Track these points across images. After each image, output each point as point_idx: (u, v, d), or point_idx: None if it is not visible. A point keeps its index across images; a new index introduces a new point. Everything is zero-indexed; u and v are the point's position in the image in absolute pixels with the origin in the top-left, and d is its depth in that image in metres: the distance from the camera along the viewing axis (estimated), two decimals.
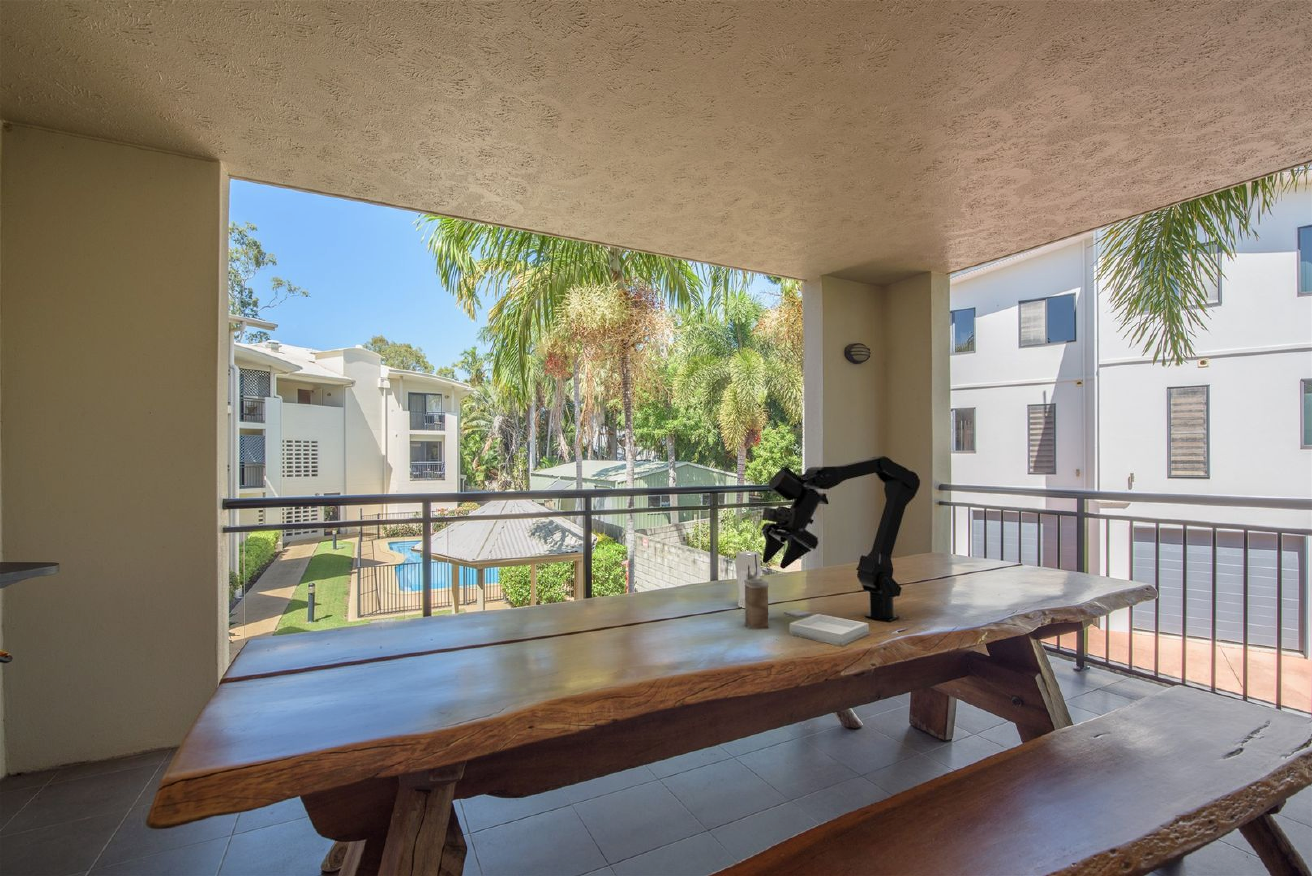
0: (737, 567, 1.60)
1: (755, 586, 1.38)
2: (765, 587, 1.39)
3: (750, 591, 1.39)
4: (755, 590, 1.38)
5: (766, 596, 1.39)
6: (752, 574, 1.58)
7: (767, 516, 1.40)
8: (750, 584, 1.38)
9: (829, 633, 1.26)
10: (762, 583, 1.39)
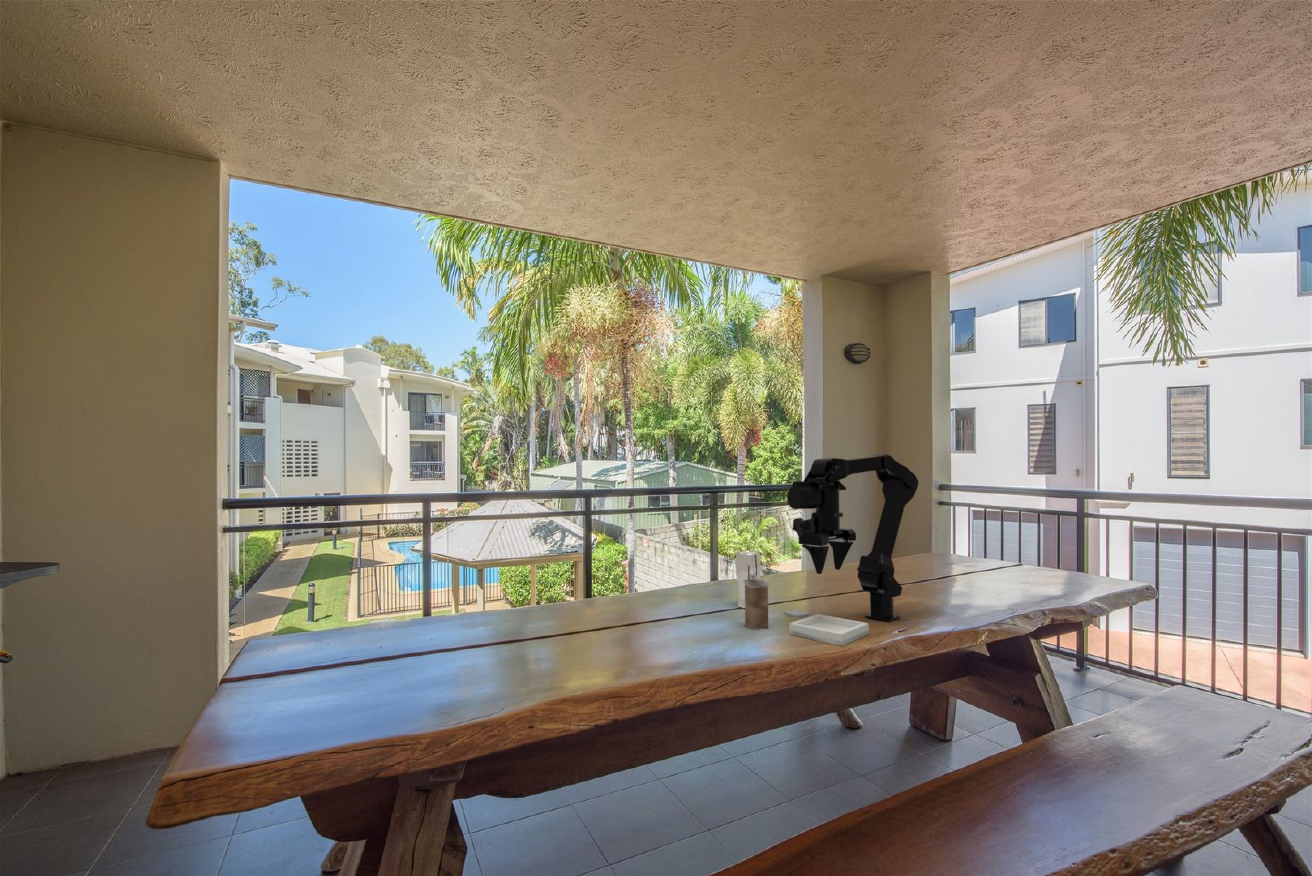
0: (737, 567, 1.60)
1: (755, 586, 1.38)
2: (765, 587, 1.39)
3: (750, 591, 1.39)
4: (755, 590, 1.38)
5: (766, 596, 1.39)
6: (752, 574, 1.58)
7: None
8: (750, 584, 1.38)
9: (829, 633, 1.26)
10: (762, 583, 1.39)
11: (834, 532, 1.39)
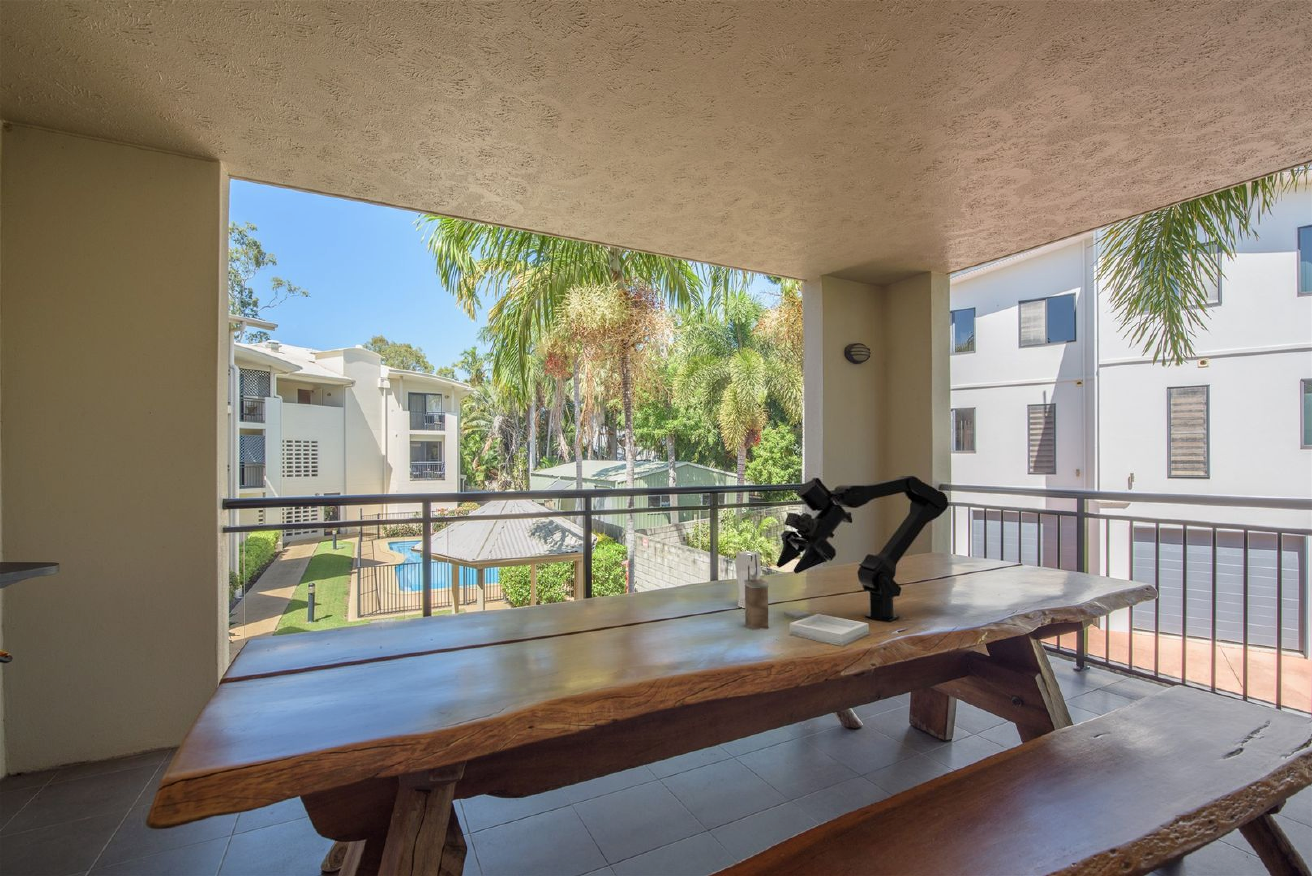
0: (737, 567, 1.60)
1: (755, 586, 1.38)
2: (765, 587, 1.39)
3: (750, 591, 1.39)
4: (755, 590, 1.38)
5: (766, 596, 1.39)
6: (752, 574, 1.58)
7: (789, 521, 1.43)
8: (750, 584, 1.38)
9: (829, 633, 1.26)
10: (762, 583, 1.39)
11: None
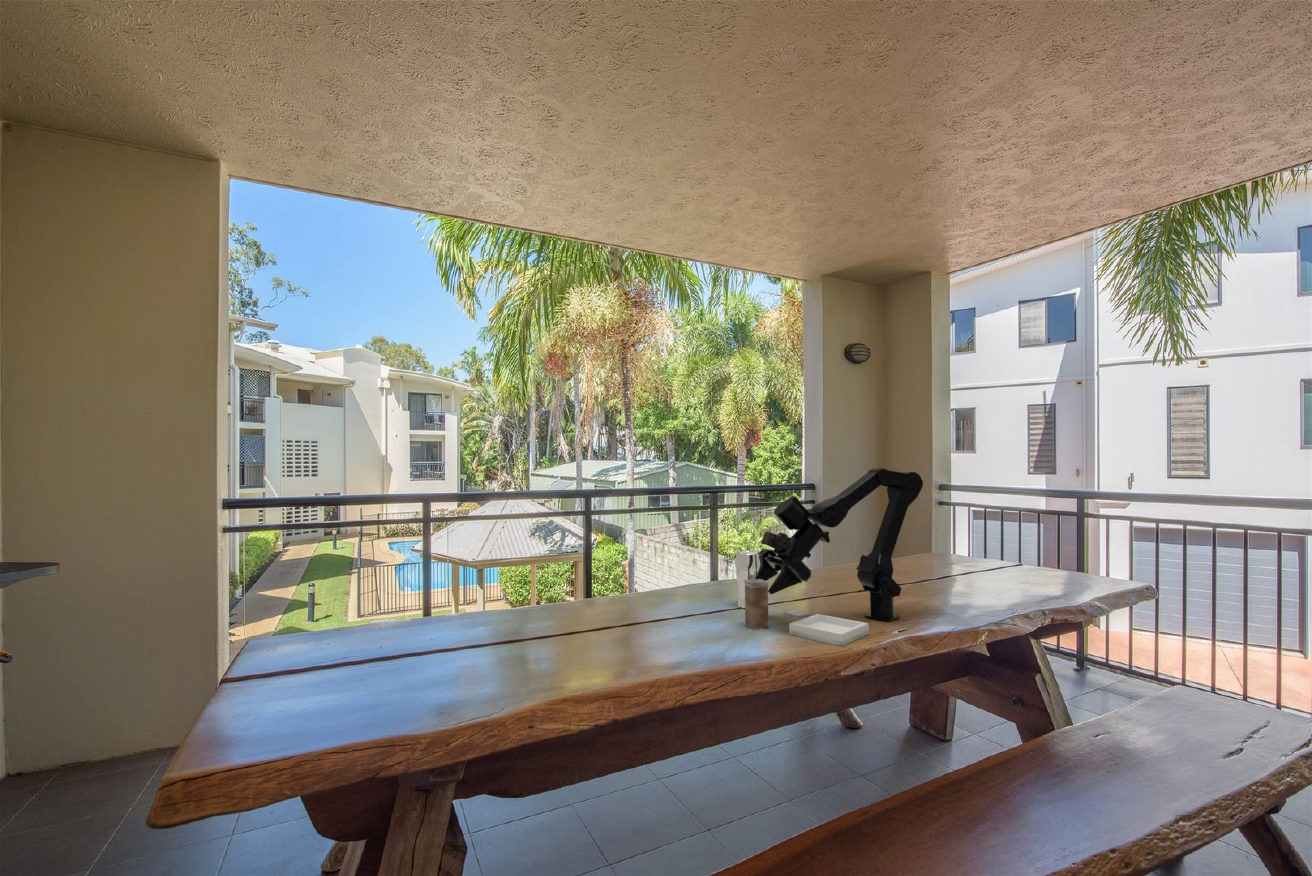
0: (737, 567, 1.60)
1: (755, 586, 1.38)
2: (765, 587, 1.39)
3: (750, 591, 1.39)
4: (755, 590, 1.38)
5: (766, 596, 1.39)
6: (752, 574, 1.58)
7: (766, 540, 1.41)
8: (750, 584, 1.38)
9: (829, 633, 1.26)
10: (762, 583, 1.39)
11: None
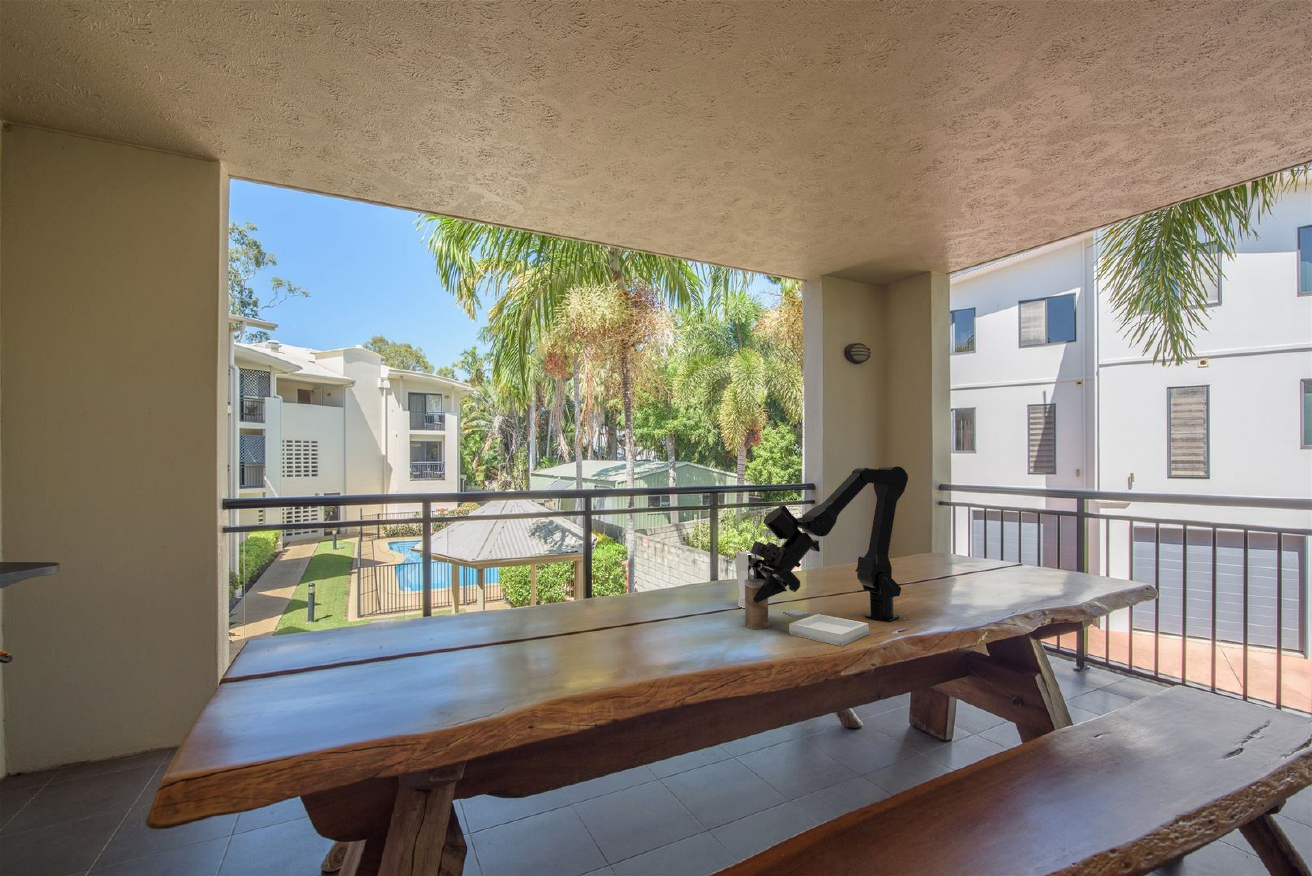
0: (737, 567, 1.60)
1: (755, 586, 1.38)
2: None
3: (750, 591, 1.39)
4: (755, 590, 1.38)
5: None
6: (752, 574, 1.58)
7: (755, 550, 1.40)
8: (750, 584, 1.38)
9: (829, 633, 1.26)
10: (762, 583, 1.39)
11: None
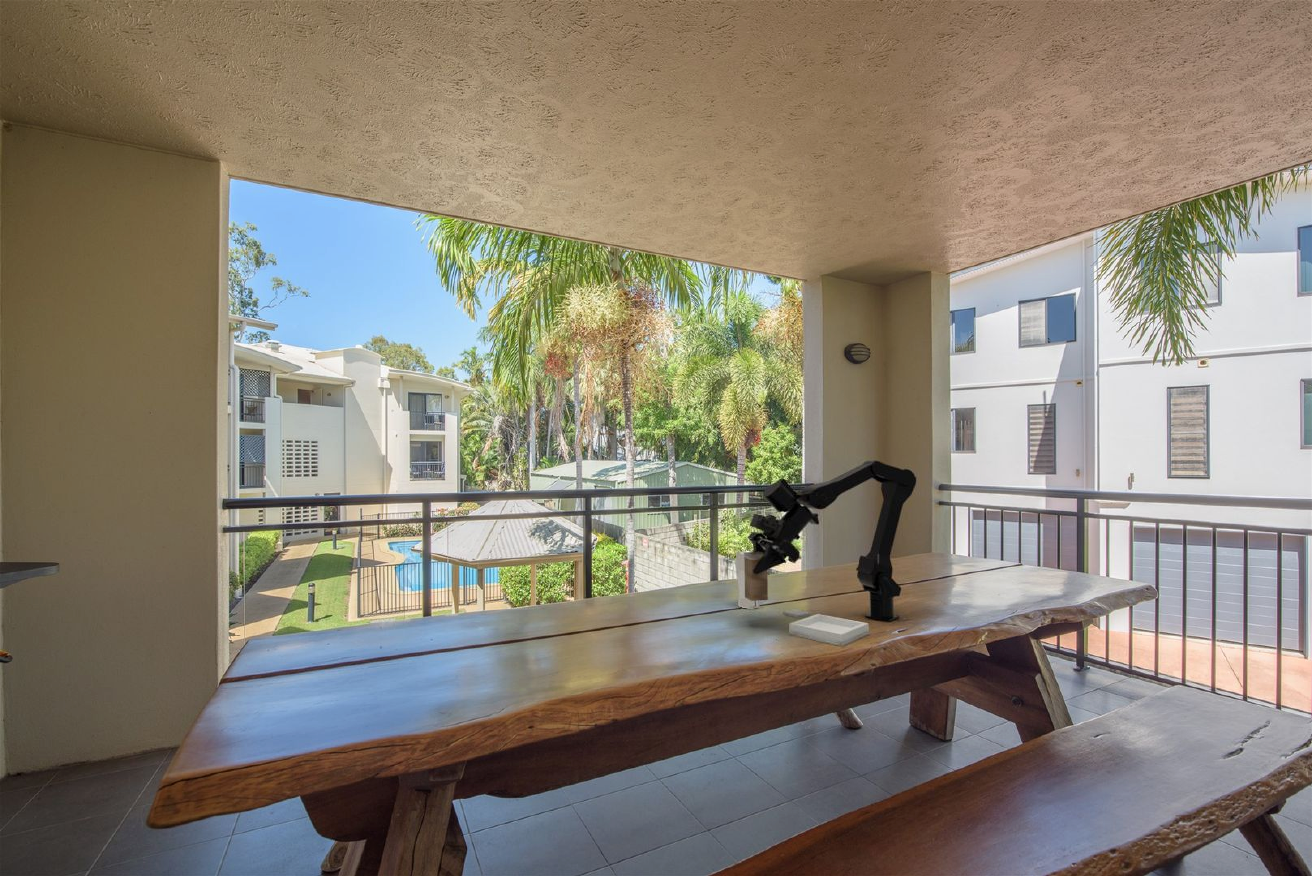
0: (737, 567, 1.60)
1: (755, 558, 1.39)
2: None
3: (749, 563, 1.39)
4: (754, 562, 1.39)
5: None
6: None
7: (754, 522, 1.41)
8: (749, 556, 1.39)
9: (829, 633, 1.26)
10: (761, 555, 1.39)
11: None
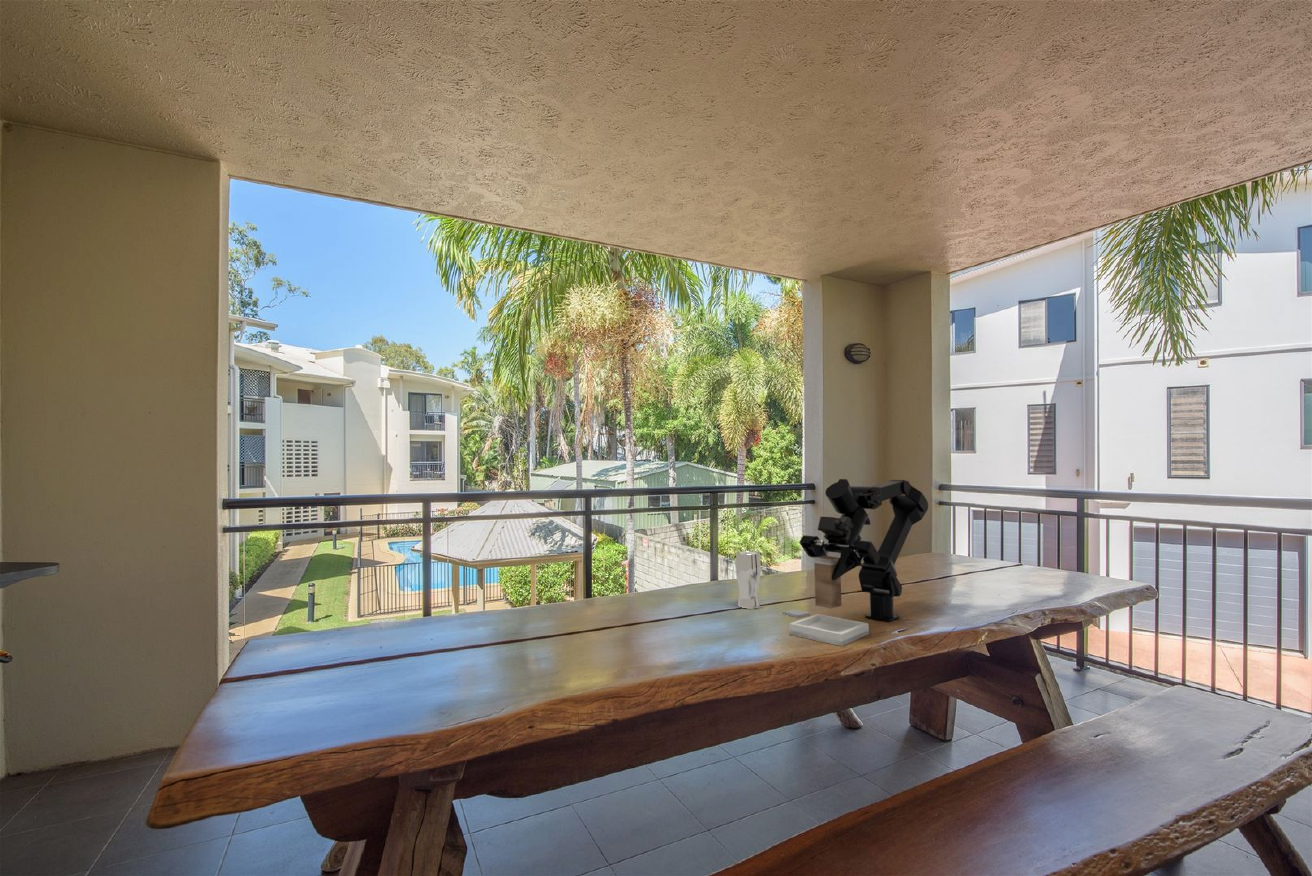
0: (737, 567, 1.60)
1: (832, 563, 1.32)
2: None
3: (827, 568, 1.31)
4: (832, 567, 1.31)
5: None
6: (752, 574, 1.58)
7: (828, 525, 1.33)
8: (827, 561, 1.31)
9: (829, 633, 1.26)
10: (837, 559, 1.33)
11: None
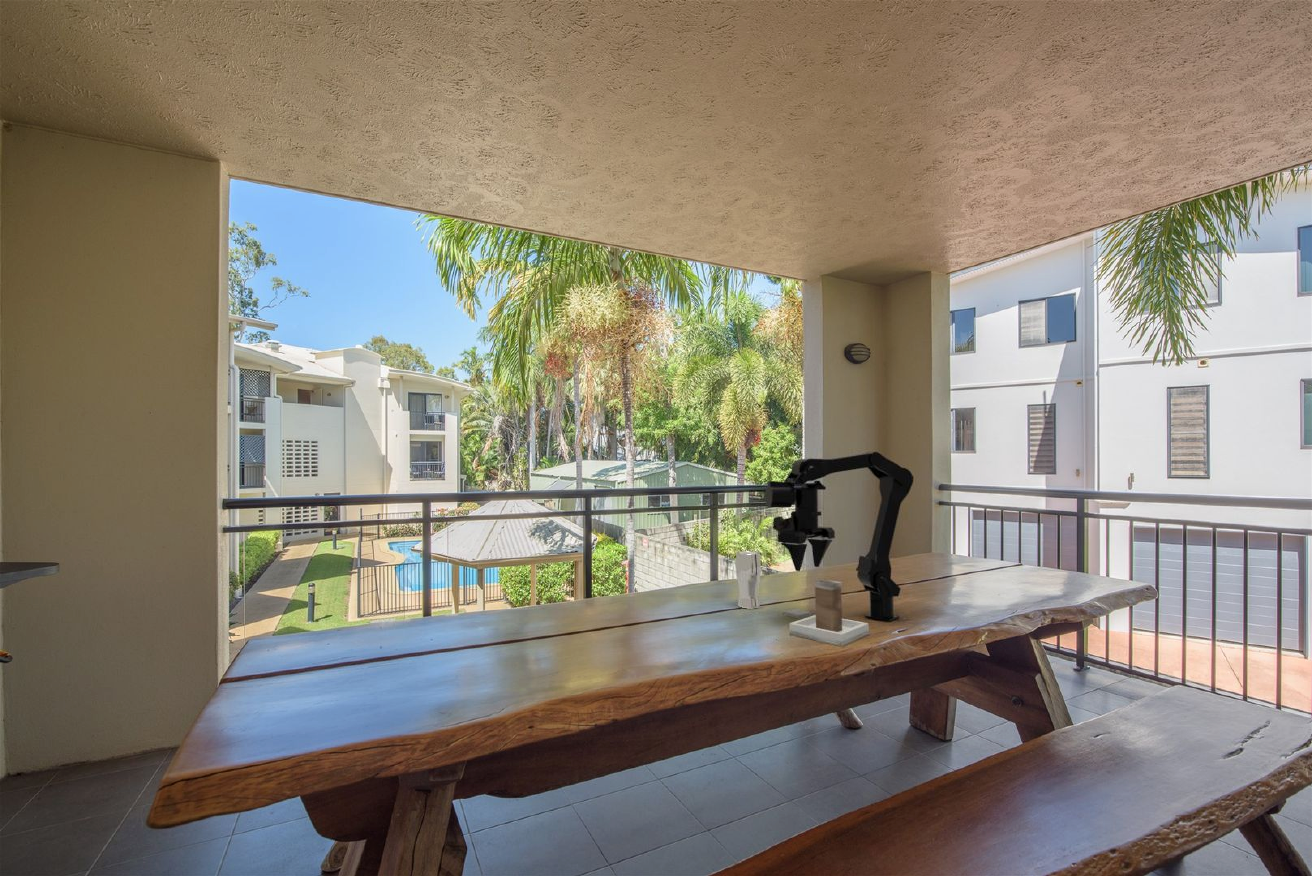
0: (737, 567, 1.60)
1: (833, 587, 1.31)
2: (839, 588, 1.33)
3: (828, 593, 1.31)
4: (833, 592, 1.31)
5: (840, 597, 1.33)
6: (752, 574, 1.58)
7: None
8: (828, 586, 1.31)
9: (829, 633, 1.26)
10: (838, 584, 1.32)
11: (812, 530, 1.44)
